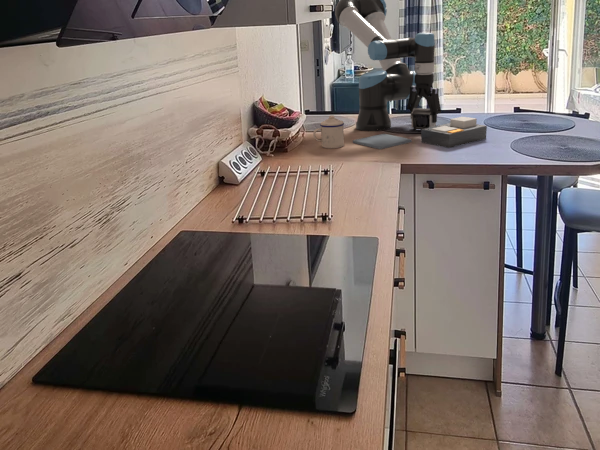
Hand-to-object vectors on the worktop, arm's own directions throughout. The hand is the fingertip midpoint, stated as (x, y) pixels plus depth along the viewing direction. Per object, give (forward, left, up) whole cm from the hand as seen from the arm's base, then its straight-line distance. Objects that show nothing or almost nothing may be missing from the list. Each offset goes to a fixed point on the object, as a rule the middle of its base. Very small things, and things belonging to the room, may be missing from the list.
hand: (423, 128), depth 239 cm
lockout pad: (+4, -26, -1) cm, 26 cm away
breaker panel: (+22, -6, -1) cm, 23 cm away
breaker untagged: (+22, -1, +4) cm, 22 cm away
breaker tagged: (+22, -11, +2) cm, 25 cm away
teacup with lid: (-6, -44, -1) cm, 44 cm away
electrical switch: (0, 0, -1) cm, 1 cm away
